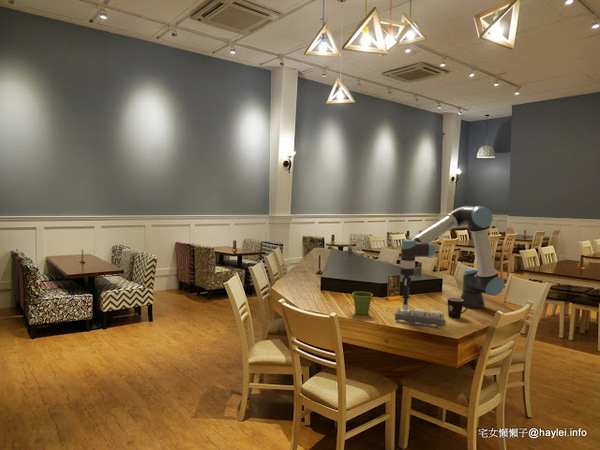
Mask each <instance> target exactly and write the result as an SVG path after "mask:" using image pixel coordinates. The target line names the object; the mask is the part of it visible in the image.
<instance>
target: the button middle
mask: <svg viewBox="0 0 600 450" xmlns="http://www.w3.org/2000/svg"><path fill="white" fill-rule="evenodd" d="M414 310H415V315H421V316H424V315H425V312H426V309H422V308H415V309H414Z"/></svg>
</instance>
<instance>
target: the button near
mask: <svg viewBox="0 0 600 450" xmlns="http://www.w3.org/2000/svg"><path fill="white" fill-rule="evenodd" d="M429 312H430V317H437V318H440V314H441V311H438V310H430V311H429Z"/></svg>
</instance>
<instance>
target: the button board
mask: <svg viewBox="0 0 600 450" xmlns="http://www.w3.org/2000/svg"><path fill="white" fill-rule="evenodd" d="M401 309H402V308H399V307H398V308H397V310H396V312H395V314H394V319H395V320H397V319H404V320H411V321H419V322H426V323H433V324H440V326H443V325H444V320H445V314H444V313H440V318H437V317H430V311H425V315H424V316H421V315H415V309H409V310H410V314H406V313H400V310H401Z"/></svg>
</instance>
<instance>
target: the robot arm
mask: <svg viewBox="0 0 600 450" xmlns="http://www.w3.org/2000/svg"><path fill="white" fill-rule="evenodd" d="M493 216H494V215H493V213H492V212H491V210H490V209H489V208H487V207H485V206H481V205H463V206H460V207H458V208H455V209H454V210H452V211H450V212H449V213H447V214H446V216H445V217H444V218H443V219H442V218H441V220H440V221H438V222H436V223H434V224H432V226H430V227H428V228H427V229H425V230H423V231H422V232H420V233H419V234H417V235H416V236H414V237H412V238H410V239H403V240H402V242H401V246H400V247H401V248H400V249H401V250H400V251H401V252H400V261H399V263H400V268H399V269H400V275H402V276H403V278H402V297H401V298H402V309H403V310H409V299H410V298H411V296H410V287H411V280H412V278H411V276H414V275H415V265H416V258H418V257H419V258H421V257H423V258H428V257H429V258H430V257H434V255H435V253H436V246H435V245H434V243H431V242H433V241H435V240H436V239H438V238H439V237H441V236H442V235H444V234H446V233H447V232H448V231H450V230H452V229H456V228H458V227H461V226H467V229H468V230H467V231H468V232H470V233H471V236H472V240H473V241H472V242H473V245H474V252H475V255H476V261H477V262H476V263H477V267H478V268H476V269H475V268H474V269H473V268H472V269H471V268H470V269H468V268H467V269H464V271H463V276H462V293H461V294H460V297H459V298H460V299H463V300H464V301H463V304H465V305H466V306H467V309H473V310H474V309H475V310H476V309H478V310H480V309H484V308H485V305H486V304H485V303H486V302H485V301H484V296H483V294H485V295H487V296H493V297H496V296H498V295H501V293H502V292H503V291H504V288H505V281H504V278H502V277H500V276H499V271H498V270H497V269H496V268H495V265H494V259H493V258H494V257H493V254H492V248H491V247H492V246H491V242H490V237H489V231H488V230H490V228H491V225H492V222H493ZM465 305H463V306H462V308H466V306H465Z"/></svg>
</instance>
